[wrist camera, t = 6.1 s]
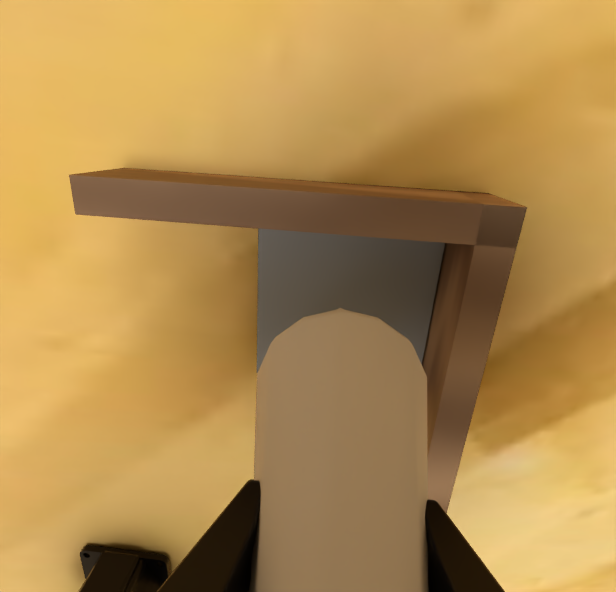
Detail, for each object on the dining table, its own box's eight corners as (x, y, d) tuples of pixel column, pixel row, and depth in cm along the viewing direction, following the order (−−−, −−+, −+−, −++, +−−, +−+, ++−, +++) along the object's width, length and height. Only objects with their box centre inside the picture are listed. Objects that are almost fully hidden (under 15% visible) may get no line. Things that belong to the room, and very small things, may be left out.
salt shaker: (304, 262, 14) (114, 888, 2) (442, 324, 15) (865, 1108, 3) (249, 382, 17) (3, 1027, 5) (371, 433, 17) (440, 1139, 5)
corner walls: (419, 501, 25) (432, 565, 21) (157, 471, 26) (125, 527, 22) (488, 193, 18) (526, 207, 14) (123, 168, 19) (69, 174, 15)
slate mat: (415, 384, 22) (416, 388, 21) (258, 368, 22) (256, 372, 22) (445, 225, 18) (447, 227, 18) (260, 212, 19) (258, 213, 19)
